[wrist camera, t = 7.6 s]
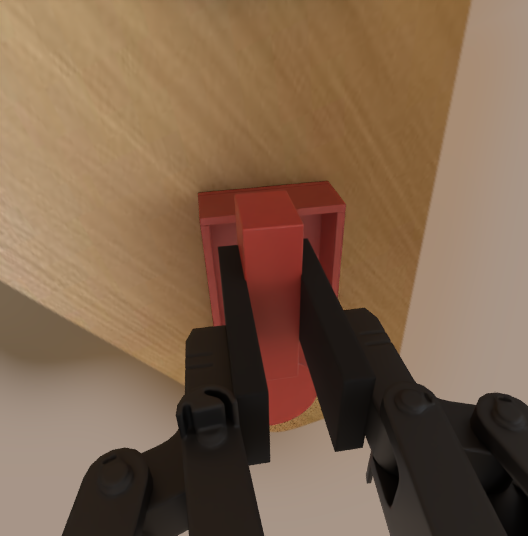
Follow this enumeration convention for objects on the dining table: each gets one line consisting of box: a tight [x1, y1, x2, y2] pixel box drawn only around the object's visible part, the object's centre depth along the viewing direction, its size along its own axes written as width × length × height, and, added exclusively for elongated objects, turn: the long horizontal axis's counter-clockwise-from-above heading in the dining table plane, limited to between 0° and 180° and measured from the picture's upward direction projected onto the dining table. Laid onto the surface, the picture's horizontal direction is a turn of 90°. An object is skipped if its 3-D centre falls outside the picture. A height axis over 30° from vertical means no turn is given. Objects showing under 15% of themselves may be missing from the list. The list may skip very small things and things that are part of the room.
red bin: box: [198, 181, 346, 326], centre depth 28 cm, size 12×8×4 cm
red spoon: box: [234, 190, 317, 425], centre depth 15 cm, size 10×4×3 cm, turn 1°
